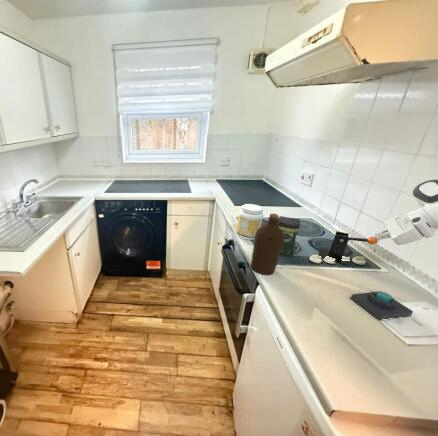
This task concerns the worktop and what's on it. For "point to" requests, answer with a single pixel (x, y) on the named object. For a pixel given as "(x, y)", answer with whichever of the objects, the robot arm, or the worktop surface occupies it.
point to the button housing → (380, 306)
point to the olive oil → (267, 247)
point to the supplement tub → (249, 221)
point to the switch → (370, 240)
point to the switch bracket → (337, 248)
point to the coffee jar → (288, 234)
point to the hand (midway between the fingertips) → (375, 237)
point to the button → (384, 297)
